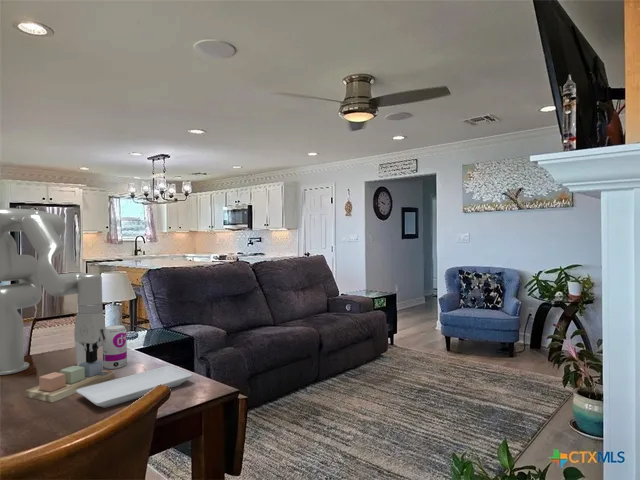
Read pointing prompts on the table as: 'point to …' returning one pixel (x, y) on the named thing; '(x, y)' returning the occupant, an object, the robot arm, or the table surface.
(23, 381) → the table surface
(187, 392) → the table surface
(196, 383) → the table surface
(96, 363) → the key slate
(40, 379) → the key terracotta
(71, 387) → the keypad base
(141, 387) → the tray
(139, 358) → the table surface
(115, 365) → the supplement can
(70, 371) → the key sage
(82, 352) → the drinking glass
